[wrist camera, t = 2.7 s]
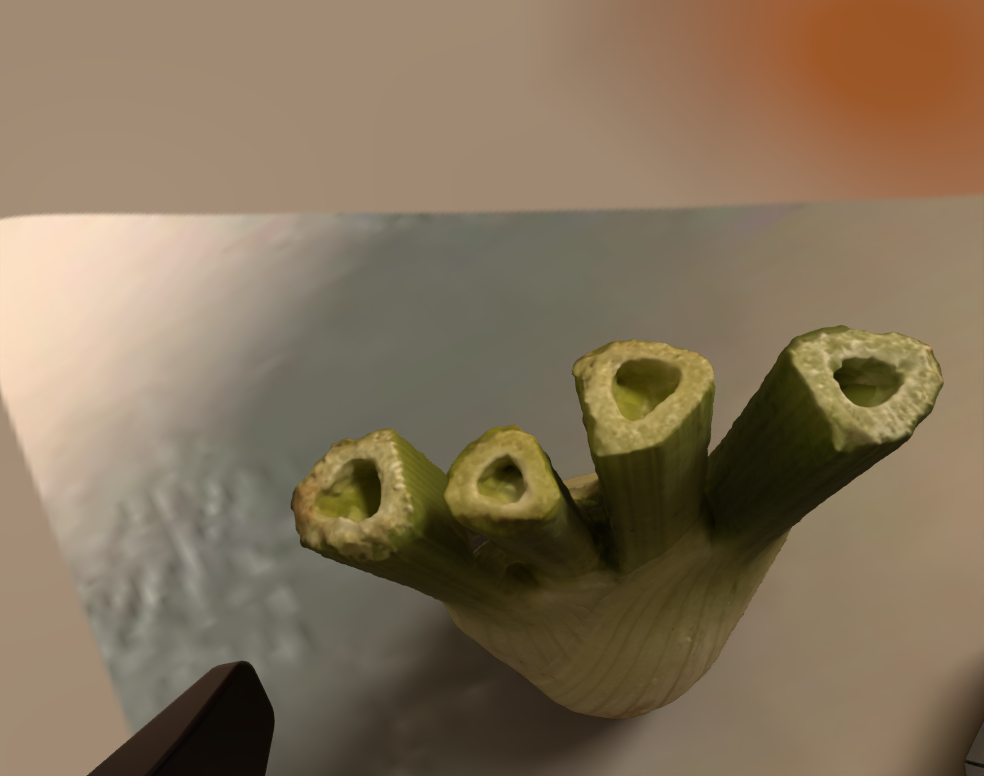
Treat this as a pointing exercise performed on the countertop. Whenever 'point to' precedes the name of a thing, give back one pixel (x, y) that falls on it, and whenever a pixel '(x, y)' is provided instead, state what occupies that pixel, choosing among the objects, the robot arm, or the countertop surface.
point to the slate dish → (976, 755)
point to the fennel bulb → (622, 510)
